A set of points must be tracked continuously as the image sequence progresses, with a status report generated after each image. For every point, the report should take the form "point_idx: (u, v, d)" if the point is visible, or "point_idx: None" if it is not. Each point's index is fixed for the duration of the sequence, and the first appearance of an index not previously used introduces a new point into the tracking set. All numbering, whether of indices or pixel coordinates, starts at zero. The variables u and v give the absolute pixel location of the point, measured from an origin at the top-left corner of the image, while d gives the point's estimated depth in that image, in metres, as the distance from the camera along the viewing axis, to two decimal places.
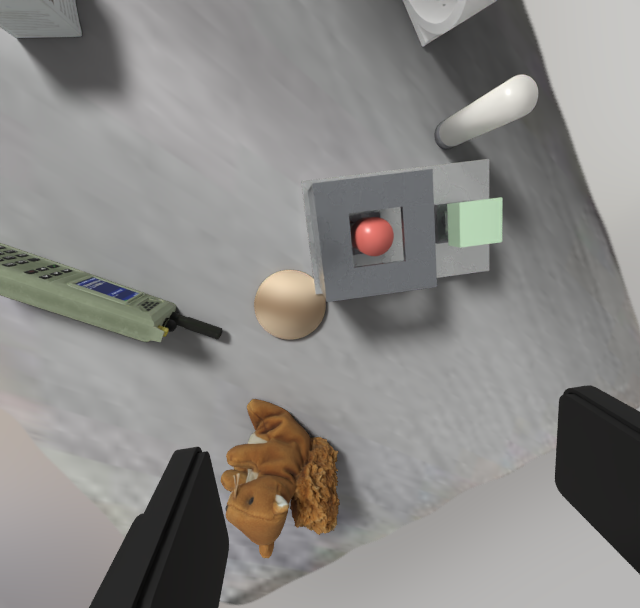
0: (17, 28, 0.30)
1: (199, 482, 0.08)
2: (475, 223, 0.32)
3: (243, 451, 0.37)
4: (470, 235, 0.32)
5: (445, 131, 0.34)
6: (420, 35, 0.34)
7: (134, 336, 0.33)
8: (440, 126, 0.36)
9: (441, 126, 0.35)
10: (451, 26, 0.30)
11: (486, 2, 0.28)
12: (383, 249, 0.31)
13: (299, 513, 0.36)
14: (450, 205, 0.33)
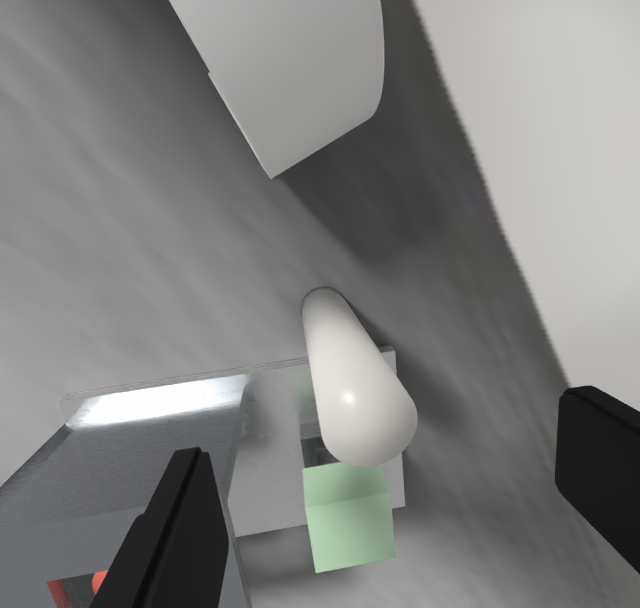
0: None
1: (199, 482, 0.08)
2: (341, 535, 0.17)
3: None
4: (332, 553, 0.17)
5: None
6: (254, 153, 0.18)
7: None
8: (303, 307, 0.20)
9: (303, 310, 0.20)
10: (269, 176, 0.14)
11: (330, 137, 0.13)
12: None
13: None
14: (303, 481, 0.18)
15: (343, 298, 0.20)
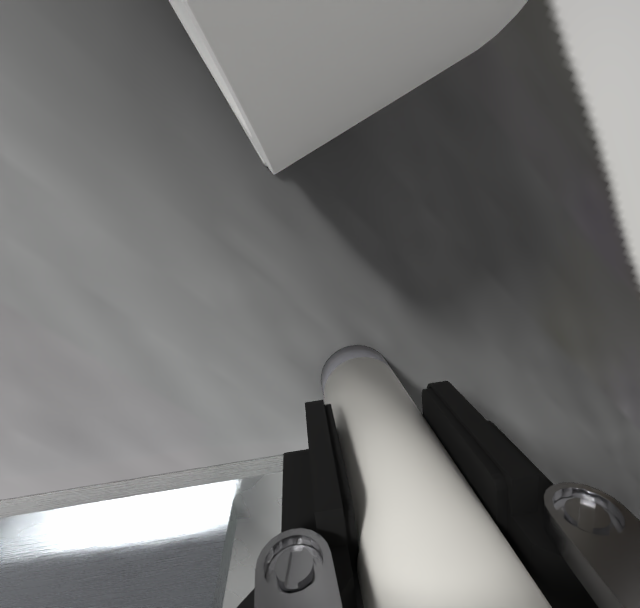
0: None
1: None
2: None
3: None
4: None
5: None
6: (248, 137, 0.11)
7: None
8: (326, 381, 0.13)
9: (326, 387, 0.12)
10: (271, 168, 0.07)
11: (412, 75, 0.06)
12: None
13: None
14: None
15: (390, 368, 0.13)
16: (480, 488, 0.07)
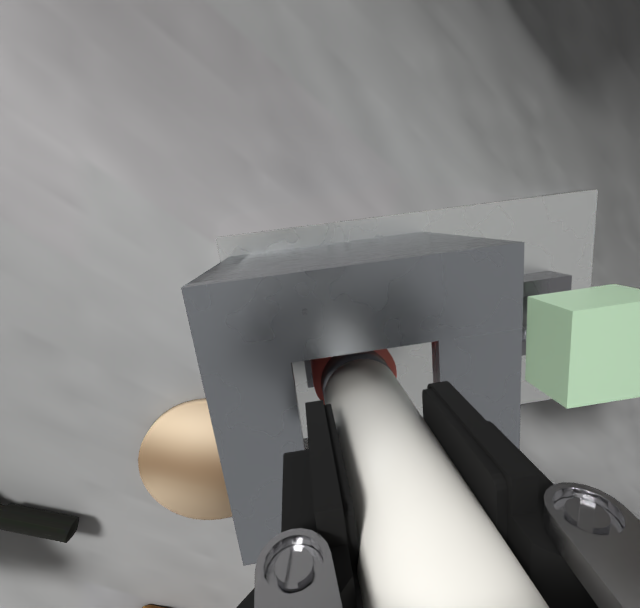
0: None
1: None
2: (607, 355, 0.13)
3: None
4: (591, 382, 0.14)
5: None
6: None
7: None
8: (326, 383, 0.13)
9: (326, 389, 0.12)
10: None
11: None
12: None
13: None
14: (538, 304, 0.15)
15: (390, 370, 0.13)
16: (480, 488, 0.07)
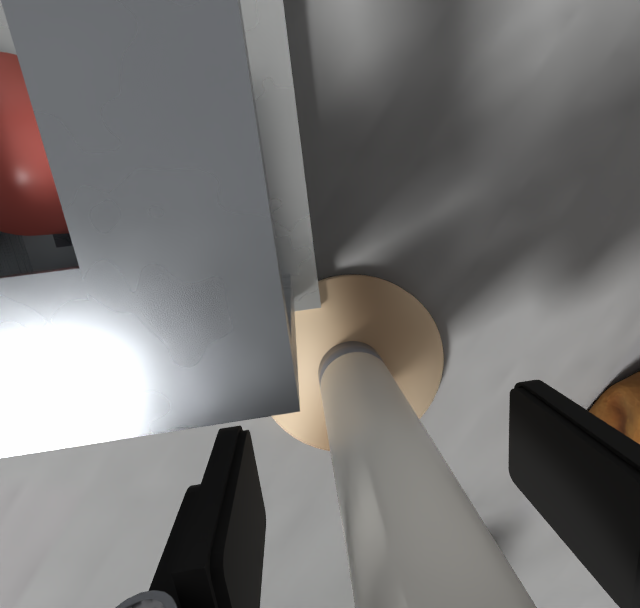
0: None
1: (245, 456, 0.08)
2: None
3: None
4: None
5: None
6: None
7: None
8: (322, 374, 0.13)
9: (322, 380, 0.13)
10: None
11: None
12: None
13: None
14: None
15: (382, 362, 0.13)
16: (613, 495, 0.07)
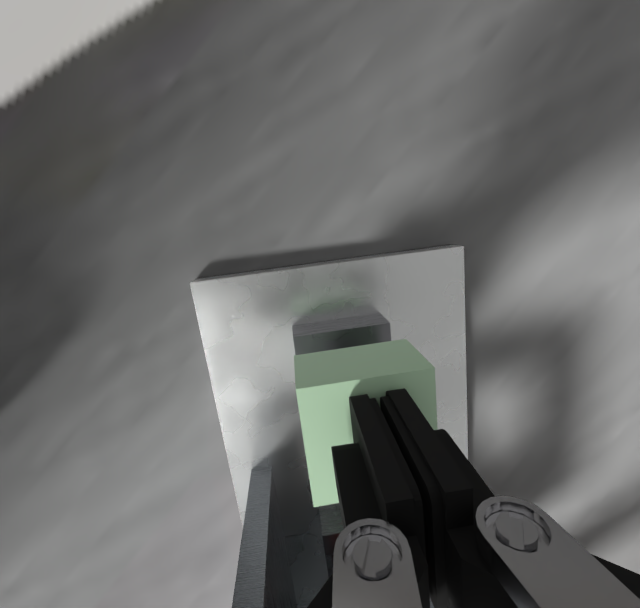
0: None
1: None
2: None
3: None
4: None
5: None
6: None
7: None
8: None
9: None
10: None
11: None
12: None
13: None
14: None
15: None
16: (421, 500, 0.07)
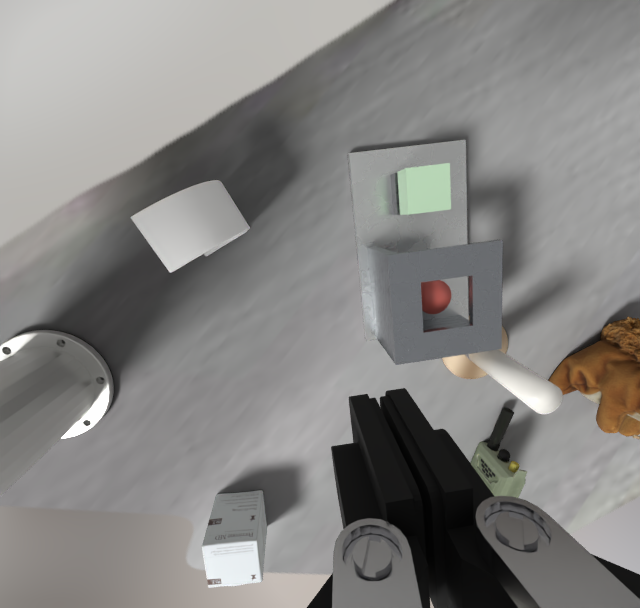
0: (265, 530, 0.44)
1: None
2: (428, 194, 0.32)
3: (606, 419, 0.38)
4: (440, 199, 0.32)
5: (475, 360, 0.39)
6: None
7: (520, 489, 0.40)
8: None
9: None
10: (248, 228, 0.31)
11: (230, 201, 0.30)
12: (446, 288, 0.34)
13: None
14: (404, 214, 0.34)
15: None
16: None
